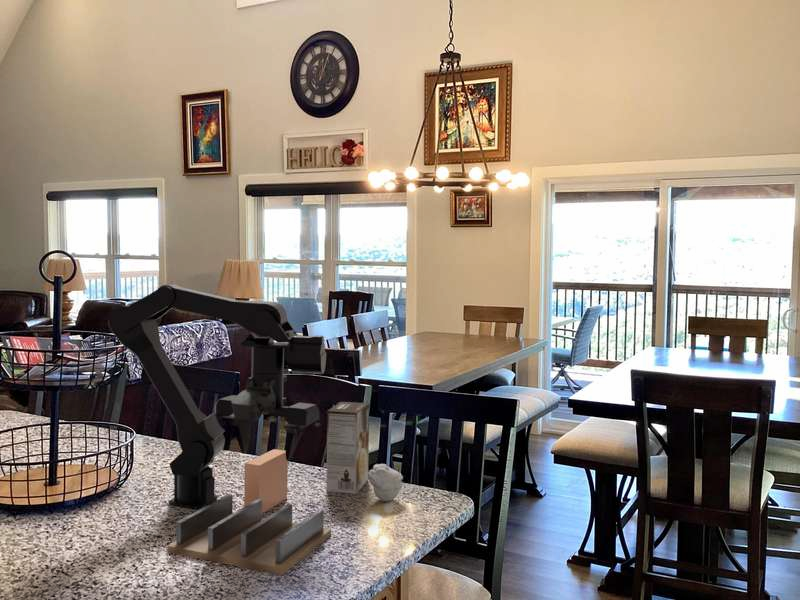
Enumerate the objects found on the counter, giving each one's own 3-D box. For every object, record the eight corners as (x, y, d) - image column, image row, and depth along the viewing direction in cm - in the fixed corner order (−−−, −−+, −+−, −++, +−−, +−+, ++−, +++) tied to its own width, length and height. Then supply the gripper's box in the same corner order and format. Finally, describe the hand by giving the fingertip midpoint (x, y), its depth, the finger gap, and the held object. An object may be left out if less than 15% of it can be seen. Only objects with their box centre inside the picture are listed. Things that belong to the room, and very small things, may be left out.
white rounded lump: (362, 497, 137) (363, 461, 137) (397, 493, 139) (397, 458, 139) (372, 508, 131) (372, 470, 131) (408, 504, 134) (408, 467, 133)
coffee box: (338, 477, 149) (340, 400, 148) (368, 480, 147) (370, 402, 146) (325, 491, 140) (326, 410, 139) (357, 494, 138) (358, 412, 137)
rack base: (167, 552, 110) (167, 545, 110) (227, 517, 125) (227, 511, 125) (282, 575, 103) (282, 568, 103) (331, 535, 118) (331, 529, 118)
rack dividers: (176, 544, 111) (176, 522, 111) (228, 514, 124) (228, 494, 124) (280, 564, 105) (280, 540, 104) (323, 530, 118) (323, 509, 117)
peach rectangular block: (244, 513, 128) (244, 463, 127) (273, 495, 137) (273, 449, 136) (258, 515, 127) (259, 465, 126) (287, 497, 136) (287, 451, 135)
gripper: (197, 373, 126) (196, 461, 127) (291, 383, 119) (289, 475, 120) (233, 365, 136) (231, 446, 137) (321, 373, 130) (319, 458, 131)
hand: (266, 456), depth 131 cm, fingers open, 9 cm apart
